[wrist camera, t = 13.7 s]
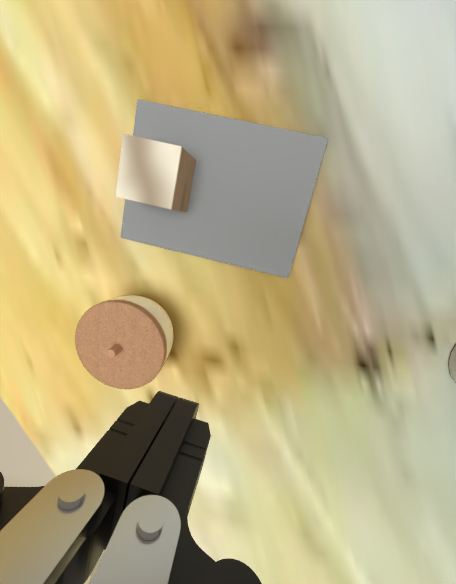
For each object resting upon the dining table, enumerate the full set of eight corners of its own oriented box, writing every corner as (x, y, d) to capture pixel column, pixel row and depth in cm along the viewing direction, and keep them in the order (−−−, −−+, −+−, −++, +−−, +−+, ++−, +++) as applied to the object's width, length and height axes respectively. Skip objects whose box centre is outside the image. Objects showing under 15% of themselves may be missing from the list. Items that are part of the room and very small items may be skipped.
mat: (327, 139, 31) (328, 138, 31) (288, 277, 35) (288, 278, 35) (139, 100, 33) (137, 99, 32) (122, 237, 37) (120, 237, 36)
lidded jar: (109, 352, 41) (65, 388, 32) (110, 281, 39) (62, 298, 29) (180, 365, 40) (155, 406, 31) (187, 292, 37) (161, 314, 28)
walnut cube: (123, 133, 28) (147, 149, 34) (115, 196, 29) (140, 201, 35) (181, 146, 27) (196, 160, 33) (171, 209, 29) (186, 212, 35)
